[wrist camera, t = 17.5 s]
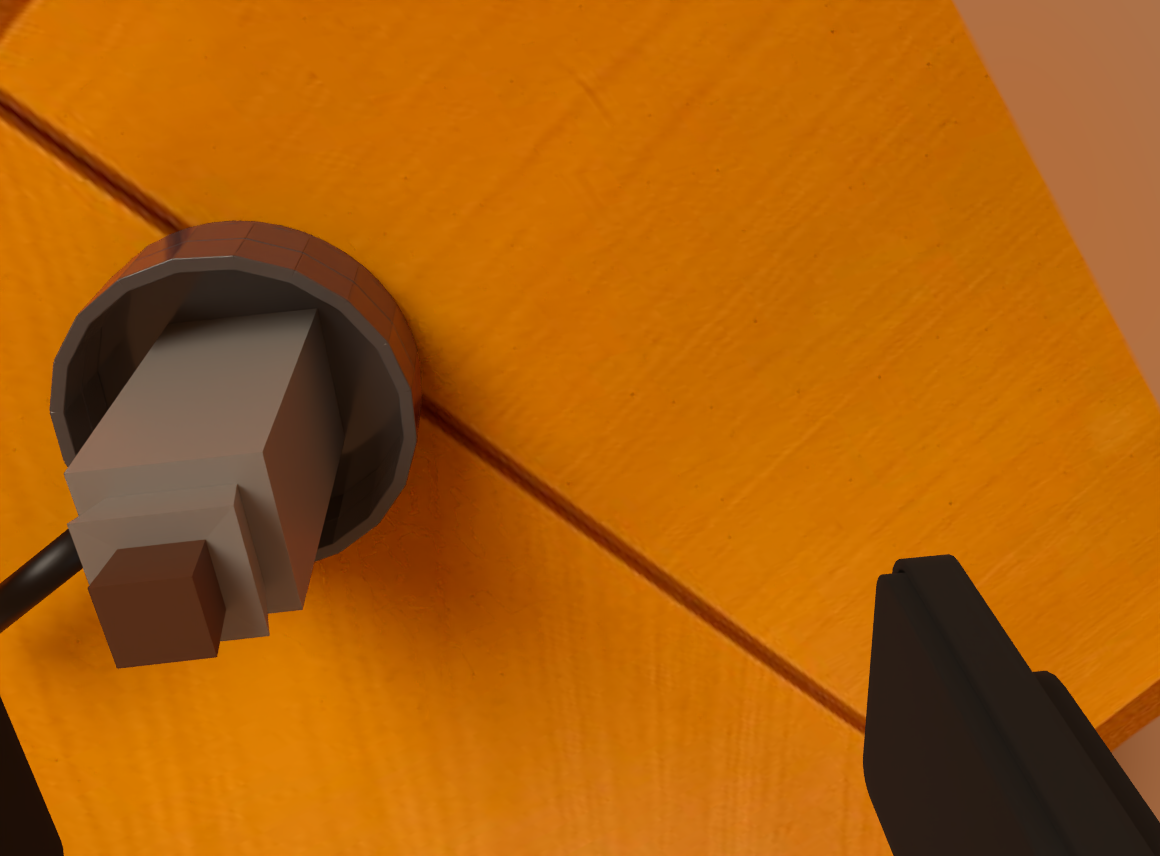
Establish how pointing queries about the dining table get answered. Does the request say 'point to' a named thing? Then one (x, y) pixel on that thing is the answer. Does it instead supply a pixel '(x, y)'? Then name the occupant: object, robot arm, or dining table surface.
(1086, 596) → the dining table surface
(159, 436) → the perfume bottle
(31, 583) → the pan handle
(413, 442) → the pan
